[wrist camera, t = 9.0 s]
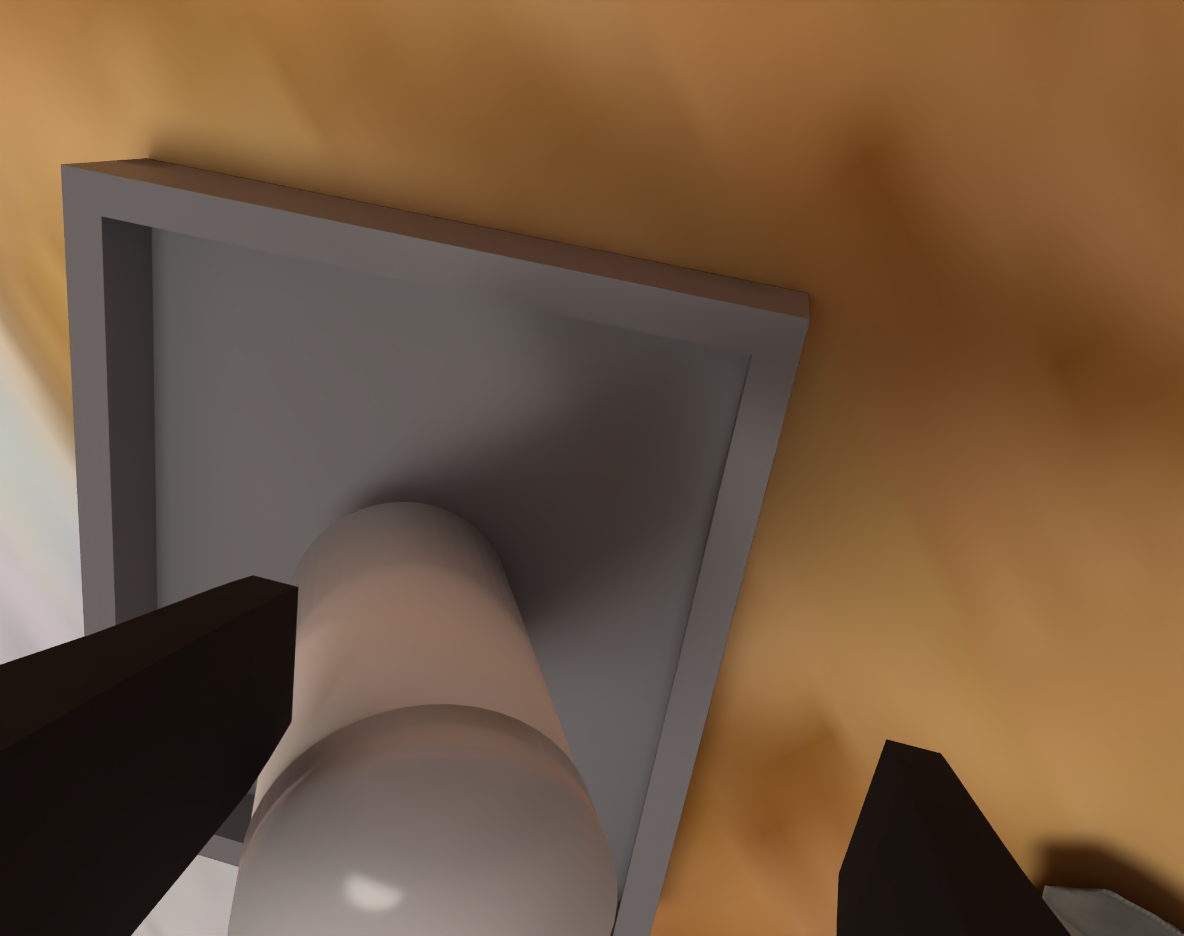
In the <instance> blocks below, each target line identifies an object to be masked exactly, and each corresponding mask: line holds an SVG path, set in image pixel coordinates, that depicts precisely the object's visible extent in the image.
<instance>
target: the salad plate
mask: <svg viewBox="0 0 1184 936" xmlns="http://www.w3.org/2000/svg"><path fill="white" fill-rule="evenodd" d="M1042 898H1043V899H1044V901H1045V902H1046V903H1047V905H1048V906H1049V907H1050V909H1051V910H1052V911H1053V913H1054V914H1055V915H1056V917H1057V918H1058V919H1059V920H1060V922H1061V923H1062V924H1063V926H1064V927H1065V928H1066V930H1067V931H1068V932H1069V934H1070V935H1071V936H1184V932H1183V931H1181V930H1180V929H1178V928H1177V927H1175V926H1174V925H1172V924H1171V923H1169V922H1167V921H1165V920H1163V919H1161V918H1160V917H1158V916H1156V915H1155V914H1153V913H1151V912H1149V911H1147V910H1146V909H1144V908H1142V907H1140V906H1138V905H1136V904H1134V903H1133V902H1131V901H1129V900H1127V899H1125V898H1123V897H1121V896H1120V895H1118V894H1117V893H1115V892H1113V891H1110V890H1106V889H1093V888H1072V887H1063V886H1047V885H1045V887H1044V891H1043V897H1042Z"/></svg>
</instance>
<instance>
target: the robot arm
mask: <svg viewBox="0 0 1184 936" xmlns="http://www.w3.org/2000/svg"><path fill="white" fill-rule="evenodd" d="M298 589H299V587H297V586H293V585H289V584H285V583H281V582H278V581H274V580H270V579H266V578H262V577H258V576H254V575H252V576H249V577H245V578H242V579H239V580H236V581H233V582H229V583H227V584H224V585H221V586H218V587H215V588H213V589H210V590H207V591H204V592H202V593H199V594H196V595H194V596H191V597H189V598H186V599H183V600H181V601H178V602H175V603H173V604H170V605H168V606H165V607H162V608H160V609H157V610H154V611H152V612H149V613H147V614H144V615H141V616H139V617H136V618H133V619H131V620H128V621H125V622H123V623H120V624H117V625H115V626H112V627H109V628H107V629H104V630H101V631H99V632H96V633H93V634H90V635H88V636H85V637H82V638H79V639H76V640H73V641H70V642H67V643H64V644H61V645H58V646H55V647H52V648H49V649H46V650H43V651H40V652H37V653H34V654H31V655H28V656H25V657H22V658H19V659H16V660H13V661H10V662H7V663H4V664H1V665H0V936H131V935H132V934H133V932H134V931H135V930H136V929H137V928H138V926H139V925H140V924H141V923H142V922H143V920H144V919H145V918H146V917H147V915H148V914H149V913H150V912H151V911H152V909H153V908H154V907H155V906H156V905H157V903H158V902H159V901H160V900H161V898H162V897H163V896H164V895H165V894H166V892H167V891H168V890H169V889H170V888H171V886H172V885H173V884H174V883H175V881H176V880H177V879H178V878H179V877H180V875H181V874H182V873H183V872H184V871H185V869H186V868H187V867H188V866H189V864H190V863H191V862H192V861H193V860H194V858H195V857H196V856H197V855H198V854H199V852H200V851H201V850H202V849H203V847H204V846H205V845H206V844H207V843H208V841H209V840H210V839H211V838H212V836H213V835H214V834H215V833H216V831H217V830H218V829H219V828H220V827H221V825H222V824H223V823H224V822H225V820H226V819H227V818H228V817H229V815H230V814H231V813H232V812H233V810H234V809H235V808H236V807H237V805H238V804H239V803H240V802H241V800H242V799H243V798H244V797H245V795H246V794H247V793H248V791H249V790H250V789H251V787H252V786H253V784H254V782H255V781H256V779H257V778H258V776H259V775H260V773H261V772H262V770H263V768H264V767H265V765H266V764H267V762H268V761H269V759H270V757H271V756H272V754H273V752H274V751H275V749H276V747H277V746H278V744H279V742H280V741H281V739H282V737H283V736H284V734H285V732H286V731H287V729H288V727H289V726H290V724H291V722H292V708H293V688H294V668H295V649H296V629H297V609H298ZM837 936H1071V935H1070V934H1069V932H1068V931H1067V930H1066V928H1065V927H1064V926H1063V924H1062V923H1061V922H1060V920H1059V919H1058V918H1057V917H1056V915H1055V914H1054V913H1053V911H1052V910H1051V909H1050V907H1049V906H1048V905H1047V903H1046V902H1045V901H1044V899H1043V898H1042V897H1041V895H1040V894H1039V893H1038V891H1037V890H1036V889H1035V887H1034V886H1033V885H1032V883H1031V882H1030V880H1029V879H1028V878H1027V876H1026V875H1025V873H1024V872H1023V871H1022V869H1021V868H1020V867H1019V865H1018V864H1017V862H1016V861H1015V860H1014V858H1013V857H1012V855H1011V854H1010V852H1009V851H1008V850H1007V848H1006V847H1005V845H1004V844H1003V843H1002V841H1001V840H1000V838H999V837H998V835H997V834H996V832H995V831H994V830H993V828H992V827H991V825H990V824H989V822H988V821H987V819H986V818H985V816H984V815H983V814H982V812H981V811H980V809H979V808H978V806H977V805H976V803H975V802H974V800H973V799H972V797H971V796H970V794H969V793H968V792H967V790H966V789H965V787H964V786H963V784H962V783H961V781H960V780H959V778H958V777H957V775H956V774H955V772H954V771H953V770H952V768H951V767H950V765H949V764H948V763H947V761H946V760H945V758H944V757H943V756H942V754H941V753H937V752H933V751H929V750H926V749H922V748H918V747H914V746H910V745H906V744H902V743H899V742H895V741H891V740H887V739H886V742H885V745H884V747H883V750H882V753H881V756H880V759H879V762H878V764H877V767H876V770H875V773H874V776H873V779H872V781H871V784H870V787H869V790H868V793H867V796H866V798H865V801H864V804H863V807H862V810H861V813H860V815H859V818H858V821H857V824H856V827H855V830H854V832H853V835H852V838H851V841H850V844H849V847H848V849H847V852H846V855H845V858H844V861H843V864H842V866H841V869H840V872H839V881H838V906H837Z"/></svg>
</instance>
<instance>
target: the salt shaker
mask: <svg viewBox="0 0 1184 936" xmlns="http://www.w3.org/2000/svg"><path fill="white" fill-rule="evenodd" d="M291 585H293V586H297V587H299V589H298V609H297V629H296V649H295V668H294V688H293V708H292V722H291V724H290V726H289V727H288V729H287V731H286V732H285V734H284V736H283V737H282V739H281V741H280V742H279V744H278V746H277V747H276V749H275V751H274V752H273V754H272V756H271V757H270V759H269V761H268V762H267V764H266V765H265V767H264V768H263V770H262V772H261V773H260V775H259V776H258V781H257V787H256V793H255V799H254V805H253V811H252V817H251V821H250V824H249V827H248V829H247V832H246V835H245V838H244V843H243V848H242V853H241V858H240V863H239V869H238V875H237V881H236V886H235V892H234V898H233V904H232V909H231V915H230V921H229V926H228V936H610V934H611V931H612V928H613V925H614V920H615V914H616V908H617V878H616V871H615V865H614V861H613V858H612V855H611V852H610V849H609V846H608V843H607V840H606V838H605V835H604V832H603V829H602V827H601V824H600V821H599V819H598V816H597V813H596V810H595V808H594V805H593V802H592V800H591V797H590V794H589V791H588V789H587V787H586V785H585V783H584V781H583V779H582V777H581V775H580V773H579V771H578V770H577V768H576V766H575V764H574V761H573V758H572V755H571V753H570V750H569V747H568V744H567V742H566V739H565V736H564V733H563V730H562V728H561V725H560V722H559V719H558V717H557V714H556V711H555V708H554V706H553V703H552V700H551V697H550V695H549V692H548V689H547V686H546V684H545V681H544V678H543V675H542V673H541V670H540V667H539V664H538V661H537V659H536V656H535V653H534V650H533V648H532V645H531V642H530V639H529V637H528V634H527V631H526V628H525V626H524V623H523V620H522V617H521V615H520V612H519V609H518V606H517V603H516V601H515V598H514V595H513V592H512V590H511V587H510V584H509V581H508V579H507V576H506V573H505V570H504V568H503V565H502V562H501V560H500V558H499V556H498V554H497V552H496V550H495V549H494V548H493V546H492V545H491V543H490V542H489V540H488V539H487V538H486V537H485V536H484V535H483V534H482V533H481V532H480V531H479V530H478V529H477V528H476V527H475V526H473V525H472V524H471V523H470V522H468V521H467V520H465V519H463V518H462V517H460V516H459V515H457V514H454V513H452V512H450V511H448V510H446V509H442V508H439V507H436V506H433V505H428V504H422V503H415V502H393V503H384V504H379V505H374V506H370V507H367V508H364V509H361V510H358V511H356V512H354V513H352V514H350V515H347V516H345V517H344V518H342V519H340V520H339V521H337V522H336V523H334V524H332V525H331V526H330V527H329V528H327V529H326V530H325V531H324V532H323V533H321V534H320V535H319V536H318V537H317V538H316V540H315V541H314V542H313V543H312V544H311V545H310V546H309V548H308V549H307V551H306V552H305V553H304V555H303V556H302V558H301V560H300V562H299V564H298V566H297V568H296V570H295V573H294V576H293V578H292V581H291Z"/></svg>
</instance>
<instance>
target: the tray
mask: <svg viewBox="0 0 1184 936" xmlns="http://www.w3.org/2000/svg"><path fill="white" fill-rule="evenodd" d="M61 176H62V196H63V216H64V236H65V256H66V275H67V295H68V315H69V335H70V355H71V375H72V395H73V415H74V435H75V454H76V474H77V494H78V514H79V534H80V554H81V574H82V594H83V614H84V634H85V636H88V635H90V634H93V633H96V632H99V631H101V630H104V629H107V628H109V627H112V626H115V625H117V624H120V623H123V622H125V621H128V620H131V619H133V618H136V617H139V616H141V615H144V614H147V613H149V612H152V611H154V610H157V609H160V608H162V607H165V606H168V605H170V604H173V603H175V602H178V601H181V600H183V599H186V598H189V597H191V596H194V595H196V594H199V593H202V592H204V591H207V590H210V589H213V588H215V587H218V586H221V585H224V584H227V583H229V582H233V581H236V580H239V579H242V578H245V577H249V576H252V575H254V576H258V577H262V578H266V579H270V580H274V581H278V582H281V583H285V584H289V585H291V581H292V578H293V576H294V573H295V570H296V568H297V566H298V564H299V562H300V560H301V558H302V556H303V555H304V553H305V552H306V551H307V549H308V548H309V546H310V545H311V544H312V543H313V542H314V541H315V540H316V538H317V537H318V536H319V535H320V534H321V533H323V532H324V531H325V530H326V529H327V528H329V527H330V526H331V525H332V524H334V523H336V522H337V521H339V520H340V519H342V518H344V517H345V516H347V515H350V514H352V513H354V512H356V511H358V510H361V509H364V508H367V507H370V506H374V505H379V504H384V503H393V502H415V503H422V504H428V505H433V506H436V507H439V508H442V509H446V510H448V511H450V512H452V513H454V514H457V515H459V516H460V517H462V518H463V519H465V520H467V521H468V522H470V523H471V524H472V525H473V526H475V527H476V528H477V529H478V530H479V531H480V532H481V533H482V534H483V535H484V536H485V537H486V538H487V539H488V540H489V542H490V543H491V545H492V546H493V548H494V549H495V550H496V552H497V554H498V556H499V558H500V560H501V562H502V565H503V568H504V570H505V573H506V576H507V579H508V581H509V584H510V587H511V590H512V592H513V595H514V598H515V601H516V603H517V606H518V609H519V612H520V615H521V617H522V620H523V623H524V626H525V628H526V631H527V634H528V637H529V639H530V642H531V645H532V648H533V650H534V653H535V656H536V659H537V661H538V664H539V667H540V670H541V673H542V675H543V678H544V681H545V684H546V686H547V689H548V692H549V695H550V697H551V700H552V703H553V706H554V708H555V711H556V714H557V717H558V719H559V722H560V725H561V728H562V730H563V733H564V736H565V739H566V742H567V744H568V747H569V750H570V753H571V755H572V758H573V761H574V764H575V766H576V768H577V770H578V771H579V773H580V775H581V777H582V779H583V781H584V783H585V785H586V787H587V789H588V791H589V794H590V797H591V800H592V802H593V805H594V808H595V810H596V813H597V816H598V819H599V821H600V824H601V827H602V829H603V832H604V835H605V838H606V840H607V843H608V846H609V849H610V852H611V855H612V858H613V861H614V865H615V871H616V878H617V908H616V914H615V920H614V925H613V928H612V931H611V934H610V936H650V933H651V929H652V925H653V921H654V917H655V914H656V910H657V906H658V902H659V898H660V894H661V890H662V887H663V883H664V879H665V875H666V871H667V867H668V864H669V860H670V856H671V852H672V848H673V844H674V841H675V837H676V833H677V829H678V825H679V821H680V817H681V814H682V810H683V806H684V802H685V798H686V794H687V791H688V787H689V783H690V779H691V775H692V771H693V768H694V764H695V760H696V756H697V752H698V748H699V745H700V741H701V737H702V733H703V729H704V725H705V721H706V718H707V714H708V710H709V706H710V702H711V698H712V695H713V691H714V687H715V683H716V679H717V675H718V672H719V668H720V664H721V660H722V656H723V652H724V648H725V645H726V641H727V637H728V633H729V629H730V625H731V622H732V618H733V614H734V610H735V606H736V602H737V599H738V595H739V591H740V587H741V583H742V579H743V575H744V572H745V568H746V564H747V560H748V556H749V552H750V549H751V545H752V541H753V537H754V533H755V529H756V526H757V522H758V518H759V514H760V510H761V506H762V502H763V499H764V495H765V491H766V487H767V483H768V479H769V476H770V472H771V468H772V464H773V460H774V456H775V453H776V449H777V445H778V441H779V437H780V433H781V430H782V426H783V422H784V418H785V414H786V410H787V406H788V403H789V399H790V395H791V391H792V387H793V383H794V380H795V376H796V372H797V368H798V364H799V360H800V357H801V353H802V349H803V345H804V341H805V337H806V333H807V330H808V326H809V322H810V312H809V299H808V293H805V292H800V291H795V290H790V289H785V288H780V287H776V286H771V285H766V284H761V283H756V282H751V281H746V280H741V279H736V278H731V277H726V276H721V275H717V274H712V273H707V272H702V271H697V270H692V269H687V268H682V267H677V266H672V265H667V264H662V263H658V262H653V261H648V260H643V259H638V258H633V257H628V256H623V255H618V254H613V253H608V252H604V251H599V250H594V249H589V248H584V247H579V246H574V245H569V244H564V243H559V242H554V241H549V240H545V239H540V238H535V237H530V236H525V235H520V234H515V233H510V232H505V231H500V230H495V229H490V228H486V227H481V226H476V225H471V224H466V223H461V222H456V221H451V220H446V219H441V218H436V217H432V216H427V215H422V214H417V213H412V212H407V211H402V210H397V209H392V208H387V207H382V206H377V205H373V204H368V203H363V202H358V201H353V200H348V199H343V198H338V197H333V196H328V195H323V194H318V193H314V192H309V191H304V190H299V189H294V188H289V187H284V186H279V185H274V184H269V183H264V182H260V181H255V180H250V179H245V178H240V177H235V176H230V175H225V174H220V173H215V172H210V171H205V170H201V169H196V168H191V167H186V166H181V165H176V164H171V163H166V162H161V161H156V160H151V159H146V158H145V159H131V160H117V161H103V162H89V163H74V164H61ZM257 781H258V778H257V779H256V781H255V782H254V784H253V786H252V787H251V789H250V790H249V791H248V793H247V794H246V795H245V797H244V798H243V799H242V800H241V802H240V803H239V804H238V805H237V807H236V808H235V809H234V810H233V812H232V813H231V814H230V815H229V817H228V818H227V819H226V820H225V822H224V823H223V824H222V825H221V827H220V828H219V829H218V830H217V831H216V833H215V834H214V835H213V836H212V838H211V839H210V840H209V841H208V843H207V844H206V845H205V846H204V847H203V849H202V850H201V851H200V852H199V854H198V855H201V856H204V857H208V858H211V859H214V860H218V861H221V862H224V863H228V864H231V865H234V866H238V867H239V863H240V858H241V853H242V848H243V843H244V838H245V835H246V832H247V829H248V827H249V824H250V821H251V817H252V811H253V805H254V799H255V793H256V787H257Z"/></svg>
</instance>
